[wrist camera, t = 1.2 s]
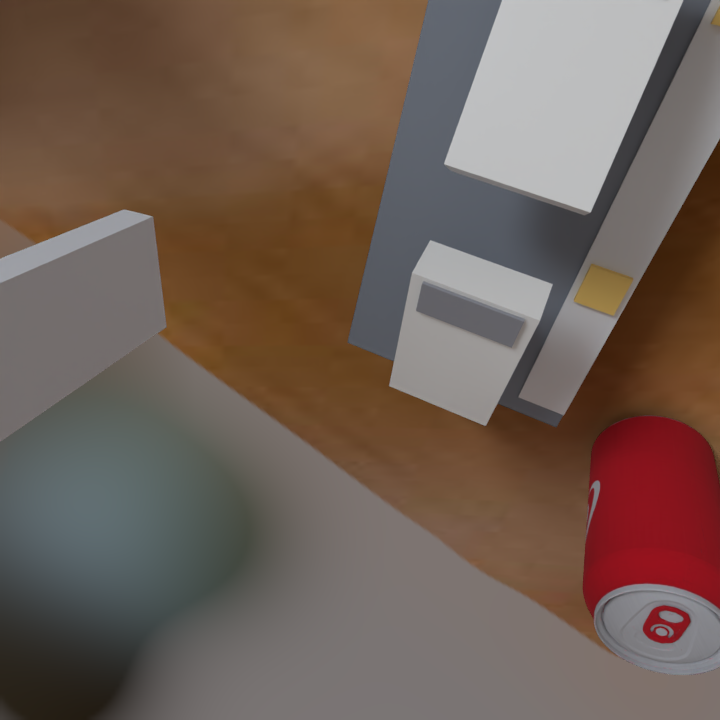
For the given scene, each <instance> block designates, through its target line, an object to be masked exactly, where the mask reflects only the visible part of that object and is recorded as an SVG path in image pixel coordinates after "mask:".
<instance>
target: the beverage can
mask: <svg viewBox="0 0 720 720" xmlns="http://www.w3.org/2000/svg"><path fill="white" fill-rule="evenodd" d="M583 594H584V598H585V602H586V605H587V607H588V610H589V611H590V613H591V615H592V617H593V619H594V625H595V629H596V632H597V634H598V636H599V638H600V639H601V640H602V642H603V643H604V644H605V645H606V646H607V647H608V648H609V649H610V650H611V651H612V652H613V653H615V654H616V655H618V656H619V657H621V658H622V659H624V660H626V661H627V662H630V663H632V664H634V665H636V666H639V667H641V668H644V669H647V670H650V671H655V672H659V673H664V674H672V675H695V674H701V673H705V672H709V671H712V670H715V669H717V668H719V667H720V484H719V479H718V474H717V470H716V465H715V460H714V455H713V452H712V449H711V447H710V445H709V444H708V442H707V441H706V440H705V438H704V437H703V436H702V435H701V434H700V433H698V432H697V431H696V430H694V429H693V428H692V427H690V426H688V425H686V424H684V423H682V422H680V421H677V420H674V419H671V418H667V417H661V416H636V417H631V418H627V419H623V420H621V421H618V422H616V423H614V424H612V425H611V426H609V427H608V428H606V429H605V430H604V431H603V432H602V433H601V434H600V435H599V436H598V438H597V439H596V441H595V442H594V445H593V447H592V452H591V465H590V481H589V497H588V512H587V528H586V543H585V559H584V575H583Z"/></svg>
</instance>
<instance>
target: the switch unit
mask: <svg viewBox="0 0 720 720" xmlns="http://www.w3.org/2000/svg"><path fill="white" fill-rule="evenodd" d="M501 2H502V0H429V1H428V5H427V9H426V13H425V17H424V22H423V26H422V30H421V34H420V39H419V43H418V47H417V51H416V55H415V60H414V64H413V68H412V72H411V77H410V81H409V85H408V89H407V93H406V98H405V102H404V106H403V110H402V115H401V119H400V123H399V127H398V131H397V136H396V140H395V144H394V148H393V153H392V157H391V161H390V165H389V169H388V174H387V178H386V182H385V186H384V190H383V195H382V199H381V203H380V207H379V212H378V216H377V220H376V224H375V228H374V233H373V237H372V241H371V245H370V250H369V254H368V258H367V262H366V266H365V271H364V275H363V279H362V283H361V288H360V292H359V296H358V300H357V304H356V309H355V313H354V317H353V321H352V326H351V330H350V334H349V338H348V343H350V344H353V345H355V346H357V347H360V348H362V349H365V350H367V351H370V352H372V353H375V354H377V355H380V356H382V357H385V358H387V359H389V360H392V361H394V359H395V354H396V349H397V345H398V340H399V335H400V330H401V325H402V320H403V315H404V310H405V305H406V300H407V295H408V290H409V285H410V280H411V275H412V272H413V270H414V268H415V267H416V265H417V263H418V261H419V259H420V258H421V256H422V254H423V252H424V250H425V249H426V247H427V245H428V243H429V242H430V240H431V241H434V242H437V243H440V244H442V245H445V246H448V247H451V248H454V249H456V250H459V251H462V252H465V253H467V254H470V255H473V256H476V257H479V258H481V259H484V260H487V261H490V262H493V263H495V264H498V265H501V266H504V267H506V268H509V269H512V270H515V271H518V272H520V273H523V274H526V275H529V276H532V277H534V278H537V279H540V280H543V281H545V282H548V283H551V284H553V285H552V288H551V291H550V294H549V297H548V299H547V302H546V305H545V308H544V311H543V314H542V317H541V319H540V322H539V324H538V326H537V328H536V330H535V331H534V333H533V335H532V337H531V339H530V341H529V343H528V345H527V347H526V349H525V351H524V353H523V355H522V357H521V359H520V361H519V362H518V364H517V366H516V368H515V370H514V372H513V374H512V376H511V378H510V380H509V382H508V384H507V386H506V388H505V390H504V392H503V394H502V395H501V397H500V399H499V401H498V404H500V405H503V406H505V407H507V408H510V409H512V410H515V411H517V412H520V413H522V414H525V415H527V416H530V417H532V418H534V419H537V420H539V421H542V422H544V423H547V424H549V425H552V426H554V427H557V425H558V423H559V422H560V420H561V418H562V416H563V415H564V414H565V413H566V411H567V409H568V407H569V406H570V404H571V402H572V400H573V398H574V397H575V395H576V393H577V391H578V390H579V388H580V386H581V384H582V382H583V381H584V379H585V377H586V375H587V374H588V372H589V370H590V368H591V366H592V365H593V363H594V361H595V359H596V358H597V356H598V354H599V352H600V350H601V349H602V347H603V345H604V343H605V342H606V340H607V338H608V336H609V334H610V333H611V331H612V329H613V327H614V326H615V324H616V322H617V320H618V319H619V317H620V315H621V313H622V311H623V310H624V308H625V306H626V304H627V303H628V301H629V299H630V297H631V295H632V294H633V292H634V290H635V288H636V287H637V285H638V283H639V281H640V279H641V278H642V276H643V274H644V272H645V271H646V269H647V267H648V265H649V263H650V262H651V260H652V258H653V256H654V255H655V253H656V251H657V249H658V247H659V246H660V244H661V242H662V240H663V239H664V237H665V235H666V233H667V231H668V230H669V228H670V226H671V224H672V223H673V221H674V219H675V217H676V215H677V214H678V212H679V210H680V208H681V207H682V205H683V203H684V201H685V200H686V198H687V196H688V194H689V192H690V191H691V189H692V187H693V185H694V184H695V182H696V180H697V178H698V176H699V175H700V173H701V171H702V169H703V168H704V166H705V164H706V162H707V160H708V159H709V157H710V155H711V153H712V152H713V150H714V148H715V146H716V144H717V143H718V141H719V139H720V0H683V2H682V5H681V7H680V9H679V12H678V14H677V16H676V18H675V21H674V23H673V25H672V28H671V30H670V32H669V34H668V37H667V39H666V41H665V44H664V46H663V48H662V50H661V53H660V55H659V57H658V60H657V62H656V64H655V66H654V69H653V71H652V73H651V76H650V78H649V80H648V82H647V85H646V87H645V89H644V92H643V94H642V96H641V99H640V101H639V103H638V105H637V108H636V110H635V112H634V115H633V117H632V119H631V121H630V124H629V126H628V128H627V131H626V133H625V135H624V137H623V140H622V142H621V144H620V147H619V149H618V151H617V153H616V156H615V158H614V160H613V163H612V165H611V167H610V169H609V172H608V174H607V176H606V179H605V181H604V183H603V185H602V188H601V190H600V192H599V195H598V197H597V199H596V201H595V204H594V206H593V208H592V211H591V213H589V214H587V215H582V214H579V213H576V212H573V211H570V210H567V209H564V208H561V207H558V206H555V205H552V204H549V203H546V202H543V201H540V200H537V199H534V198H531V197H528V196H525V195H522V194H519V193H516V192H513V191H510V190H507V189H504V188H501V187H498V186H495V185H492V184H489V183H486V182H483V181H480V180H477V179H474V178H471V177H468V176H465V175H462V174H459V173H456V172H453V171H451V170H450V169H449V168H447V167H446V166H445V165H444V162H445V159H446V157H447V154H448V151H449V148H450V145H451V142H452V140H453V137H454V134H455V131H456V128H457V126H458V123H459V120H460V117H461V114H462V112H463V109H464V106H465V103H466V100H467V97H468V95H469V92H470V89H471V86H472V83H473V81H474V78H475V75H476V72H477V69H478V67H479V64H480V61H481V58H482V55H483V53H484V50H485V47H486V44H487V41H488V38H489V36H490V33H491V30H492V27H493V24H494V22H495V19H496V16H497V13H498V10H499V8H500V5H501Z"/></svg>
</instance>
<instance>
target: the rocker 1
mask: <svg viewBox="0 0 720 720" xmlns="http://www.w3.org/2000/svg"><path fill="white" fill-rule="evenodd" d="M552 285H553V284H551V283H548V282H545V281H543V280H540V279H537V278H534V277H532V276H529V275H526V274H523V273H520V272H518V271H515V270H512V269H509V268H506V267H504V266H501V265H498V264H495V263H493V262H490V261H487V260H484V259H481V258H479V257H476V256H473V255H470V254H467V253H465V252H462V251H459V250H456V249H454V248H451V247H448V246H445V245H442V244H440V243H437V242H434V241H431V240H430V242H429V243H428V245H427V247H426V249H425V250H424V252H423V254H422V256H421V258H420V259H419V261H418V263H417V265H416V267H415V268H414V270H413V272H412V275H411V280H410V285H409V290H408V295H407V300H406V305H405V310H404V315H403V320H402V325H401V330H400V335H399V340H398V345H397V349H396V354H395V359H394V364H393V369H392V374H391V379H390V384H389V386H390V387H393V388H395V389H398V390H400V391H402V392H405V393H407V394H410V395H412V396H414V397H417V398H419V399H422V400H424V401H426V402H429V403H431V404H434V405H436V406H438V407H441V408H443V409H446V410H448V411H450V412H453V413H455V414H458V415H460V416H462V417H465V418H467V419H470V420H472V421H474V422H477V423H479V424H482V425H484V426H486V425H487V423H488V421H489V419H490V417H491V415H492V413H493V411H494V409H495V407H496V405H497V403H498V401H499V399H500V397H501V395H502V394H503V392H504V390H505V388H506V386H507V384H508V382H509V380H510V378H511V376H512V374H513V372H514V370H515V368H516V366H517V364H518V362H519V361H520V359H521V357H522V355H523V353H524V351H525V349H526V347H527V345H528V343H529V341H530V339H531V337H532V335H533V333H534V331H535V330H536V328H537V326H538V324H539V322H540V319H541V317H542V314H543V311H544V308H545V305H546V302H547V299H548V297H549V294H550V291H551V288H552Z"/></svg>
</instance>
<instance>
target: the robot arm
mask: <svg viewBox="0 0 720 720" xmlns="http://www.w3.org/2000/svg"><path fill="white" fill-rule="evenodd" d="M164 328H166V319H165V311H164V303H163V294H162V286H161V278H160V270H159V261H158V253H157V245H156V237H155V229H154V220H153V216H149V215H145V214H141V213H137V212H132V211H128V210H121V211H119V212H116V213H114V214H111V215H109V216H106V217H104V218H101V219H99V220H96V221H94V222H91V223H89V224H86V225H84V226H81V227H79V228H76V229H74V230H71V231H69V232H66V233H64V234H61V235H59V236H56V237H54V238H51V239H49V240H46V241H44V242H41V243H38V244H36V245H34V246H31V247H29V248H26V249H23V250H21V251H18V252H16V253H13V254H11V255H8V256H6V257H3V258H1V259H0V441H2V440H3V439H5V438H6V437H7V436H9V435H10V434H12V433H13V432H15V431H16V430H18V429H19V428H21V427H22V426H23V425H25V424H26V423H28V422H29V421H31V420H32V419H34V418H35V417H36V416H38V415H40V414H41V413H42V412H44V411H45V410H47V409H48V408H50V407H51V406H53V405H54V404H55V403H57V402H58V401H60V400H61V399H63V398H64V397H66V396H67V395H69V394H70V393H71V392H73V391H74V390H76V389H77V388H79V387H80V386H82V385H83V384H85V383H86V382H87V381H89V380H90V379H92V378H93V377H95V376H96V375H98V374H99V373H100V372H102V371H103V370H105V369H106V368H108V367H109V366H111V365H112V364H114V363H115V362H117V361H118V360H119V359H121V358H122V357H124V356H125V355H127V354H128V353H129V352H131V351H133V350H134V349H135V348H137V347H138V346H140V345H141V344H143V343H144V342H145V341H147V340H148V339H150V338H151V337H153V336H154V335H156V334H157V333H159V332H160V331H162V330H163V329H164Z"/></svg>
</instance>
